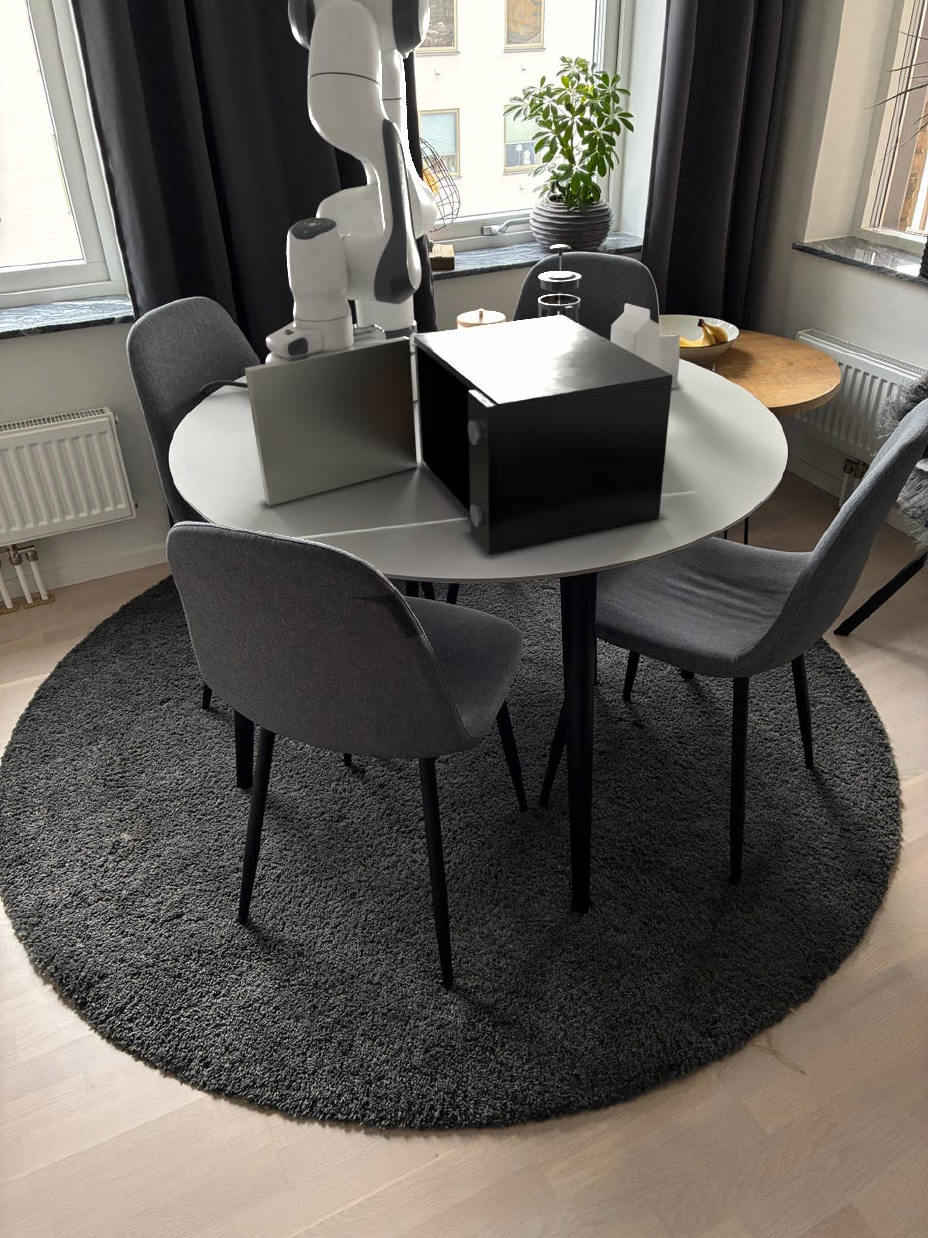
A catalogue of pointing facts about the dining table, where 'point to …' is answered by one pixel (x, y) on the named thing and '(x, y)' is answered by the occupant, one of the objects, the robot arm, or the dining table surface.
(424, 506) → the dining table surface
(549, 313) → the french press
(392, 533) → the dining table surface
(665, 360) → the white small box
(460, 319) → the trinket box
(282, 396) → the microwave door
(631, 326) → the milk
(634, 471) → the microwave
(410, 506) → the dining table surface
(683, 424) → the dining table surface
